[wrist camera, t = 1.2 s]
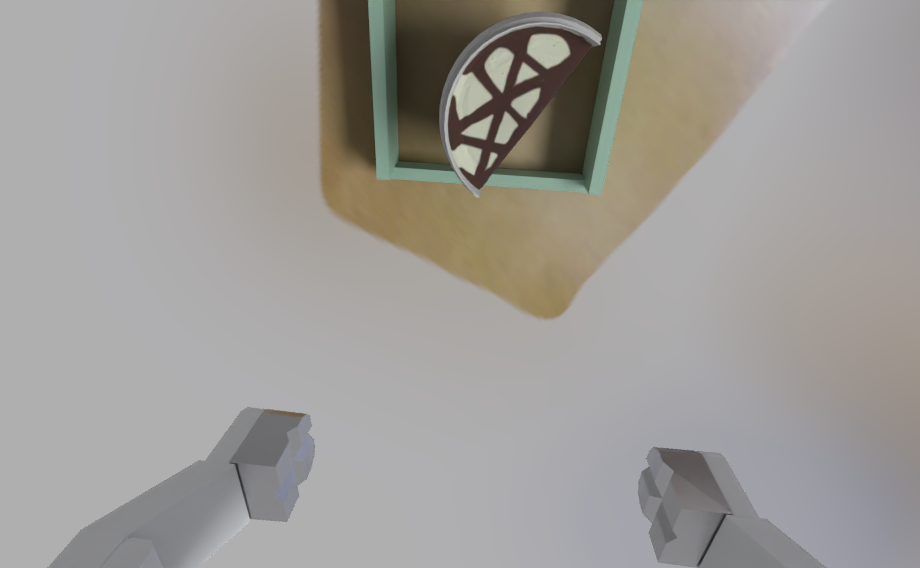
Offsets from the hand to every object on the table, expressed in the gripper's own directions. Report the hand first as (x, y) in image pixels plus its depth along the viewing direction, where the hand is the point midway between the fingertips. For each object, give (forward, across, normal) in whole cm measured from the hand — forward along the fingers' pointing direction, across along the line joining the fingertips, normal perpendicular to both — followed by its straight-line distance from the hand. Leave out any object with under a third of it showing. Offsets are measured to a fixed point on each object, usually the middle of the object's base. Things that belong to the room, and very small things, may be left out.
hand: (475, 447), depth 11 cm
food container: (+31, 0, -7) cm, 32 cm away
